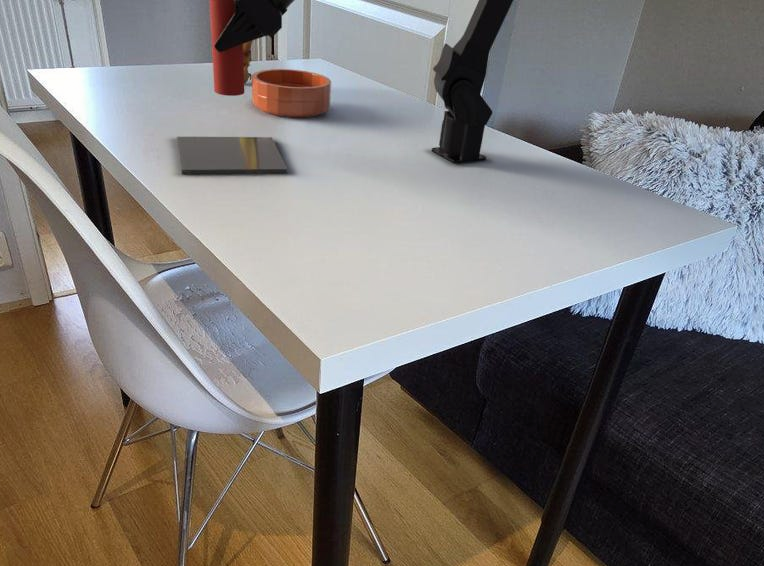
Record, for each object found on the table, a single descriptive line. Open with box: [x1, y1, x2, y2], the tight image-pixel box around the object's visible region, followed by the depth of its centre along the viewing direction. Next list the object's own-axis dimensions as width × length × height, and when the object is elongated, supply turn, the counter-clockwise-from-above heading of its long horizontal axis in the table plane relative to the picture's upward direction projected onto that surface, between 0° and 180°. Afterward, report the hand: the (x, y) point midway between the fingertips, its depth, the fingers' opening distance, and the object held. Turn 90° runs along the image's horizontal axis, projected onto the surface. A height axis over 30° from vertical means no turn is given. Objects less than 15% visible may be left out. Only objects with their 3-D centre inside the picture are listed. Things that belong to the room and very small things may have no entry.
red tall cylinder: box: [209, 0, 245, 97], centre depth 91 cm, size 4×4×13 cm
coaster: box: [176, 136, 288, 175], centre depth 95 cm, size 14×14×1 cm
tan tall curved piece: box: [243, 40, 254, 85], centre depth 123 cm, size 7×5×20 cm
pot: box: [251, 68, 332, 118], centre depth 117 cm, size 14×14×5 cm
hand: (217, 46), depth 91 cm, fingers closed on red tall cylinder, 4 cm apart
